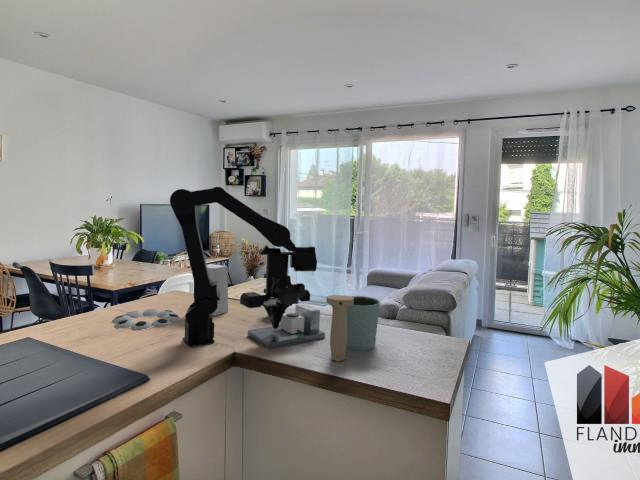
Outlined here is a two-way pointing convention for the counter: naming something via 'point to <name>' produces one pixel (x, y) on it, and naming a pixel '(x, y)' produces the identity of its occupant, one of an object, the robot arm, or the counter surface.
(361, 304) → the teal cup
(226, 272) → the skincare box
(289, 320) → the white box with dome
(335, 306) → the handle
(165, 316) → the grey flat openwork piece
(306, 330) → the bench
